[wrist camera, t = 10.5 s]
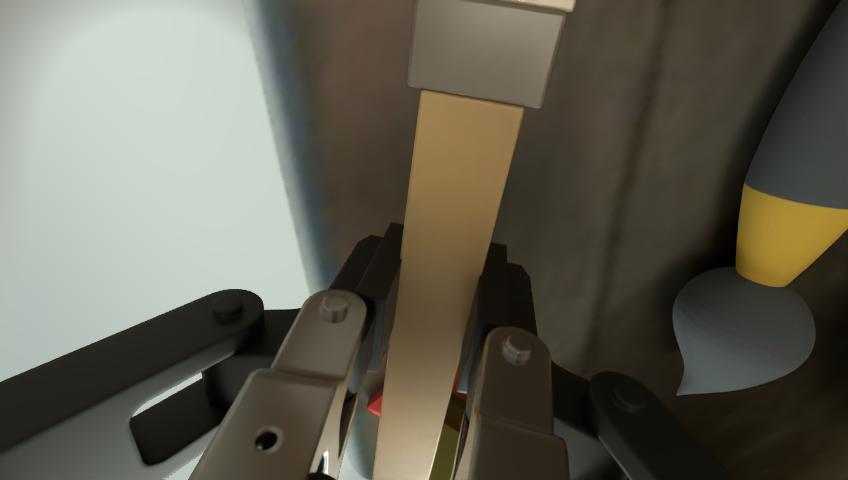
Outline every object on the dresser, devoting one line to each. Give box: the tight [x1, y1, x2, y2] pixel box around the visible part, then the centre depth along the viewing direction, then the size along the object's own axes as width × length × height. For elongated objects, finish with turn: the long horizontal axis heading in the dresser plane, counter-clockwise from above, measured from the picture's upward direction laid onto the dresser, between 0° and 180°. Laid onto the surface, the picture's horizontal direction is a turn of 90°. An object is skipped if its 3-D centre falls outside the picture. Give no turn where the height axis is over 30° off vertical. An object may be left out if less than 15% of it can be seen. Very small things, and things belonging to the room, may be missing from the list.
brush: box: [372, 0, 576, 480], centre depth 11 cm, size 20×3×3 cm, turn 172°
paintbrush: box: [673, 0, 848, 396], centre depth 15 cm, size 20×5×5 cm, turn 2°
